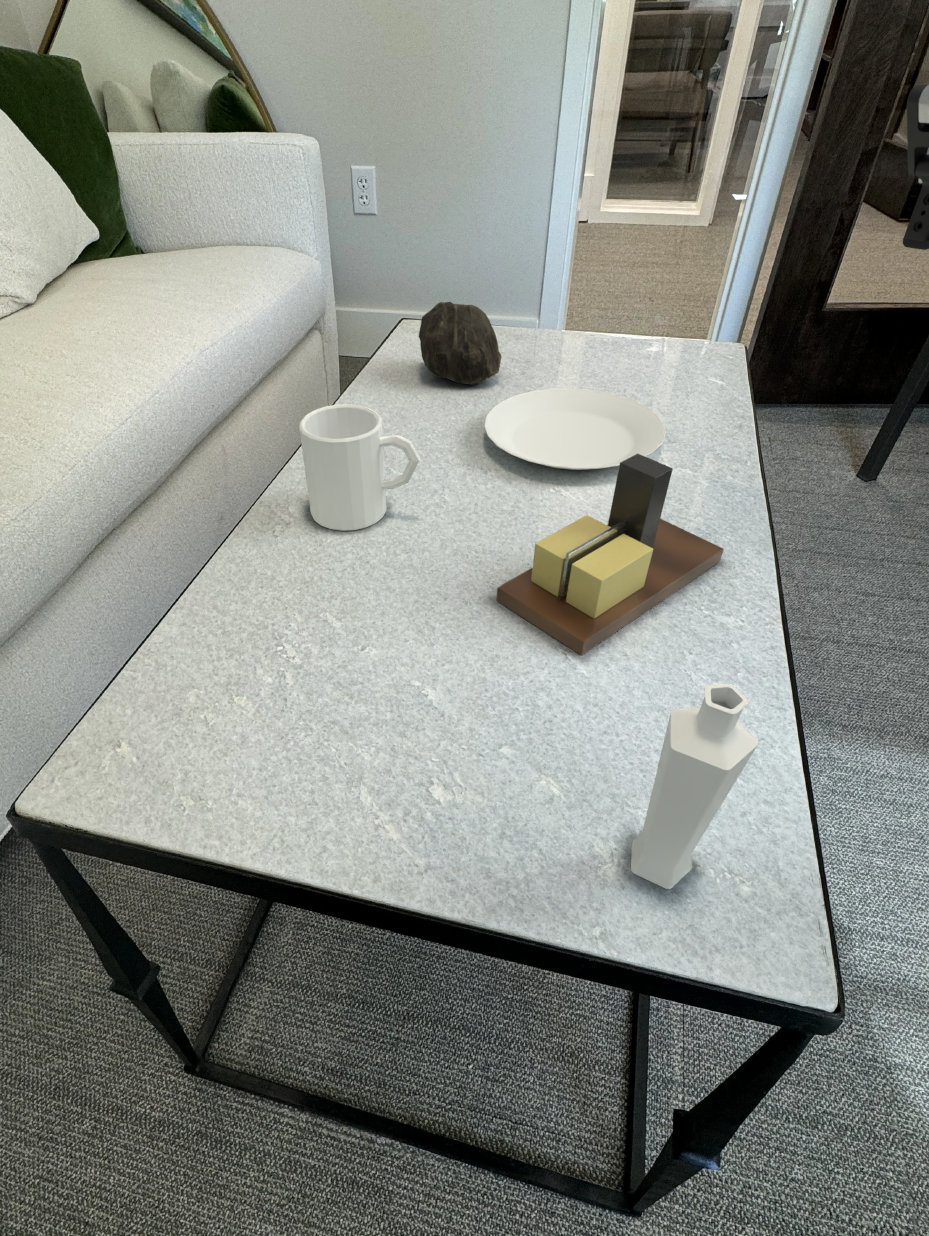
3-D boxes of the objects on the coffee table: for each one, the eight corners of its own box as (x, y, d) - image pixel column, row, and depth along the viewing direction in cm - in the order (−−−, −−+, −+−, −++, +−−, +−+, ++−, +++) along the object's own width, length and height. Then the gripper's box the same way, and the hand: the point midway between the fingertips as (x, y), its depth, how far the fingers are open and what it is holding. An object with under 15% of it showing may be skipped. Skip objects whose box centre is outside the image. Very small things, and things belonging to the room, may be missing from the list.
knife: (618, 543, 69) (637, 453, 62) (649, 560, 67) (673, 468, 60) (545, 587, 64) (557, 494, 58) (576, 606, 62) (593, 512, 56)
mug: (410, 541, 73) (407, 449, 66) (299, 525, 76) (286, 435, 69) (430, 500, 79) (430, 411, 72) (327, 487, 81) (317, 400, 74)
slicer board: (634, 520, 75) (637, 507, 74) (719, 562, 69) (724, 548, 68) (496, 600, 66) (497, 587, 65) (581, 655, 61) (583, 642, 60)
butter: (580, 551, 69) (586, 514, 66) (644, 586, 64) (653, 548, 62) (530, 580, 66) (535, 543, 63) (594, 619, 62) (601, 580, 59)
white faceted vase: (705, 849, 47) (785, 685, 37) (684, 902, 45) (763, 741, 34) (637, 819, 49) (693, 654, 38) (613, 868, 46) (666, 705, 36)
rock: (498, 388, 96) (493, 304, 90) (416, 395, 99) (405, 314, 93) (507, 367, 104) (502, 288, 98) (430, 374, 107) (421, 298, 101)
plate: (652, 407, 93) (656, 390, 91) (669, 491, 78) (674, 472, 77) (489, 402, 96) (491, 384, 94) (477, 482, 81) (478, 463, 80)
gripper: (1070, -119, 37) (920, 269, 49) (1181, -106, 42) (1021, 242, 54) (923, -96, 42) (818, 251, 53) (1039, -87, 47) (920, 229, 58)
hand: (920, 246), depth 54 cm, fingers closed
